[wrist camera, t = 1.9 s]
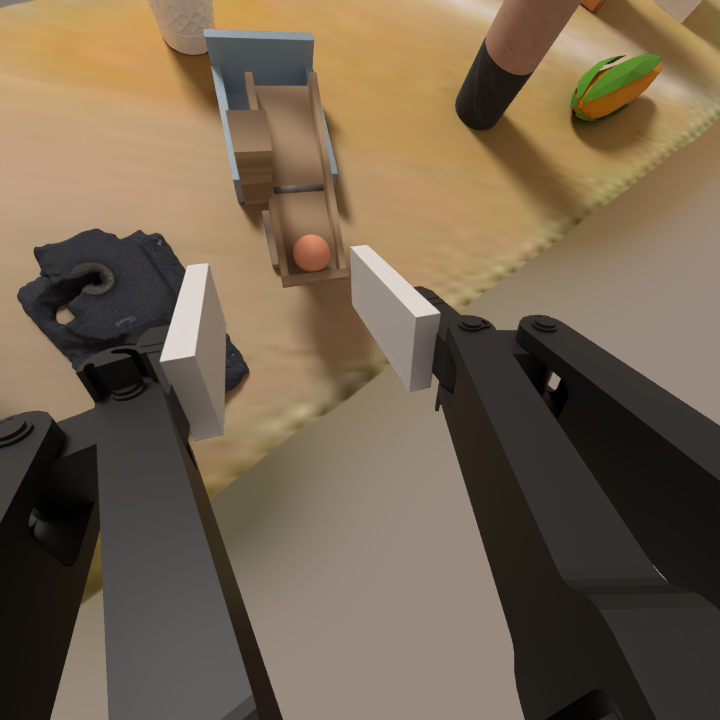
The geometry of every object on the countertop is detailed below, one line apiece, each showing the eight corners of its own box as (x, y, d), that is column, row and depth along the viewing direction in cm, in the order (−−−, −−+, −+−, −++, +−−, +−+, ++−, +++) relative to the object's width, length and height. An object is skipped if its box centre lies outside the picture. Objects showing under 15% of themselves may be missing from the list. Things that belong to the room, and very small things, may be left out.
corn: (590, 54, 48) (672, 20, 53) (548, 101, 55) (624, 66, 60) (616, 100, 48) (695, 61, 53) (571, 140, 55) (644, 103, 60)
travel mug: (458, 131, 50) (563, -52, 31) (449, 87, 51) (544, -116, 32) (503, 133, 52) (630, -39, 32) (493, 90, 53) (609, -100, 34)
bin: (334, 195, 44) (341, 154, 37) (238, 202, 41) (228, 159, 34) (309, 90, 46) (312, 33, 39) (216, 90, 43) (203, 29, 37)
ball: (287, 267, 33) (289, 259, 30) (299, 234, 33) (302, 222, 30) (320, 281, 34) (325, 275, 31) (332, 249, 34) (338, 239, 31)
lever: (346, 279, 36) (382, 262, 25) (262, 290, 34) (258, 278, 23) (317, 92, 33) (343, -27, 22) (223, 93, 31) (195, -39, 19)
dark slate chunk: (129, 459, 34) (105, 465, 30) (13, 285, 35) (-28, 264, 31) (260, 375, 39) (256, 369, 34) (154, 221, 39) (136, 194, 35)
